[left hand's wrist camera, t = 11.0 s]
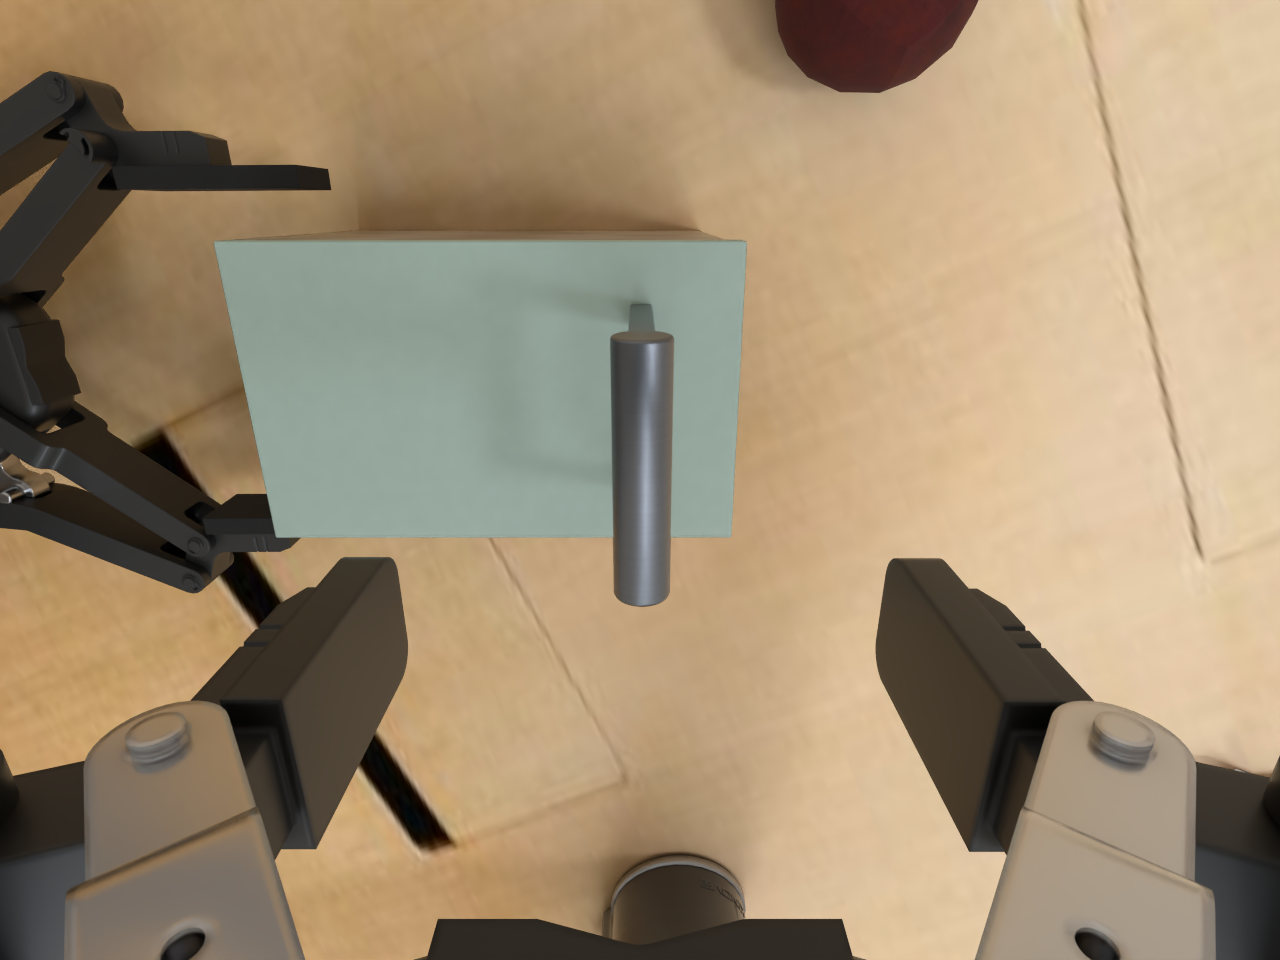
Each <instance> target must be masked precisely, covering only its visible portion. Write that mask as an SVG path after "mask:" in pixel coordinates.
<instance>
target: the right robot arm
mask: <svg viewBox="0 0 1280 960" xmlns="http://www.w3.org/2000/svg"><path fill="white" fill-rule="evenodd" d="M123 108H124V106H123V100H122V98H121V96H120V94H119V92H118V91H117V90H116V89H115V88H114V87H112V86H110V85H108V84H105V83H100V82H96V81H92V80H88V79H84V78H79V77H75V76H71V75H67V74H62V73H58V72H51V71H49V72H47V73H44V74H42V75H41V76H39V77H38V78H37V79H35V80H34V81H32V82H31V83H29V84H28V85H26V86H25V87H23V88H22V89H21V90H19V91H18V92H16V93H15V94H13V95H12V96H10V97H9V98H7V99H6V100H5V101H3V102H2V103H0V195H2V194H3V193H5V192H6V191H8V190H9V189H11V188H12V187H14V186H15V185H17V184H18V183H20V182H21V181H23V180H24V179H26V178H27V177H29V176H30V175H32V174H33V173H35V172H36V171H38V170H39V169H41V168H43V167H44V166H46V165H47V164H49V163H50V162H52V161H53V160H55V159H56V158H57V159H56V161H55V162H54V163H53V164H52V166H51V167H50V168H49V170H48V171H47V172H46V173H45V175H44V176H43V177H42V178H41V180H40V181H39V182H38V184H37V185H36V186H35V187H34V189H33V190H32V191H31V193H30V194H29V195H28V196H27V198H26V199H25V200H24V201H23V203H22V204H21V205H20V207H19V208H18V209H17V210H16V212H15V213H14V214H13V215H12V217H11V218H10V219H9V221H8V222H7V223H6V224H5V226H4V227H3V228H2V230H1V231H0V528H7V529H18V530H27V531H30V532H32V533H35V534H38V535H40V536H43V537H45V538H48V539H51V540H53V541H56V542H58V543H61V544H64V545H66V546H69V547H71V548H74V549H77V550H79V551H82V552H84V553H87V554H90V555H92V556H95V557H97V558H100V559H103V560H105V561H108V562H110V563H113V564H116V565H118V566H121V567H123V568H126V569H129V570H131V571H134V572H136V573H139V574H142V575H144V576H147V577H149V578H152V579H155V580H157V581H160V582H162V583H165V584H168V585H170V586H173V587H175V588H178V589H181V590H183V591H186V592H189V593H198V592H200V591H202V590H203V589H204V588H205V587H206V586H207V585H209V584H210V583H211V582H212V581H213V580H214V579H215V578H217V577H218V576H219V575H220V574H221V573H222V572H224V571H225V570H226V569H227V568H228V567H229V566H230V565H232V563H233V561H234V556H233V553H232V552H257V551H259V552H266V551H268V552H281V551H283V550H286V549H288V548H291V547H292V546H293V545H294V544H295V543H296V542H297V541H298V540H299V539H300V538H277V537H276V535H275V530H274V525H273V521H272V516H271V511H270V507H269V502H268V497H267V494H236V495H235V496H233V497H232V498H231V499H229V500H228V501H226V502H225V503H224V504H222V505H221V504H219V503H218V502H216V501H214V500H213V499H211V498H210V497H208V496H207V495H205V494H204V493H202V492H201V491H199V490H198V489H196V488H194V487H193V486H191V485H190V484H188V483H187V482H185V481H184V480H182V479H181V478H179V477H177V476H176V475H174V474H173V473H171V472H170V471H168V470H167V469H165V468H164V467H162V466H161V465H159V464H157V463H156V462H154V461H153V460H151V459H150V458H148V457H147V456H145V455H144V454H142V453H141V452H139V451H137V450H136V449H134V448H133V447H131V446H130V445H128V444H127V443H125V442H124V441H122V440H121V439H119V438H117V437H116V436H114V435H113V434H111V433H110V432H109V431H108V430H107V426H108V425H107V423H106V422H105V421H104V420H103V419H101V418H100V417H98V416H97V415H95V414H94V413H92V412H91V411H89V410H88V409H86V408H85V407H83V406H81V405H80V404H78V403H77V402H75V401H74V398H75V395H76V394H79V393H81V391H80V388H79V385H78V381H77V378H76V375H75V373H74V372H73V370H72V368H71V366H70V365H69V363H68V361H67V360H66V357H65V343H64V336H63V332H62V329H61V326H60V322H59V320H51V318H50V317H49V315H48V314H47V312H46V311H45V310H44V309H43V308H42V307H43V306H44V305H45V303H46V302H47V301H48V300H49V299H50V297H51V296H52V295H53V294H54V293H55V291H56V290H57V289H58V288H59V287H60V285H61V284H62V283H63V281H64V277H62V273H63V272H64V270H65V269H66V268H67V267H68V266H69V264H70V263H71V262H72V261H73V260H74V258H75V257H76V256H77V255H78V254H79V252H80V251H81V250H82V249H83V248H84V246H85V245H86V244H87V243H88V242H89V240H90V239H91V238H92V237H93V236H94V234H95V233H96V232H97V231H98V230H99V228H100V227H101V226H102V225H103V224H104V222H105V221H106V220H107V219H108V217H109V216H110V215H111V214H112V213H113V211H114V210H115V209H116V208H117V207H118V205H119V204H120V203H121V202H122V201H123V199H124V198H125V197H126V196H127V195H128V193H129V192H130V191H131V190H150V191H268V190H331V185H330V178H329V172H328V169H323V168H315V167H308V166H300V165H231V160H230V155H229V150H228V145H227V141H226V140H223V139H221V138H218V137H216V136H213V135H209V134H204V133H198V132H192V131H136V130H135V129H133V128H132V127H131V126H130V124H129V123H128V122H127V120H126V119H125V117H124V115H123V113H122V112H123ZM55 425H57V426H58V427H60V428H61V429H60V430H57V431H54V432H52V433H47V432H48V431H49V430H50V429H51V428H52V427H53V426H55ZM19 459H21V460H22V461H24V462H26V463H27V464H29V465H31V466H33V467H36V468H40V469H52V470H55V471H57V472H58V473H60V474H61V475H63V476H65V477H66V478H68V479H70V480H71V481H73V482H74V483H76V484H78V485H79V486H81V487H82V488H84V489H86V490H87V491H85V490H82V489H79V488H77V487H73V486H69V485H65V484H59V483H54V482H55V479H54V477H53V476H52V475H51V474H50V473H43V474H39V473H36V472H33V471H30V470H28V469H27V468H25V467H24V466H23V465H22V464H21V462H20V460H19ZM88 491H89V492H88Z"/></svg>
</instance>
